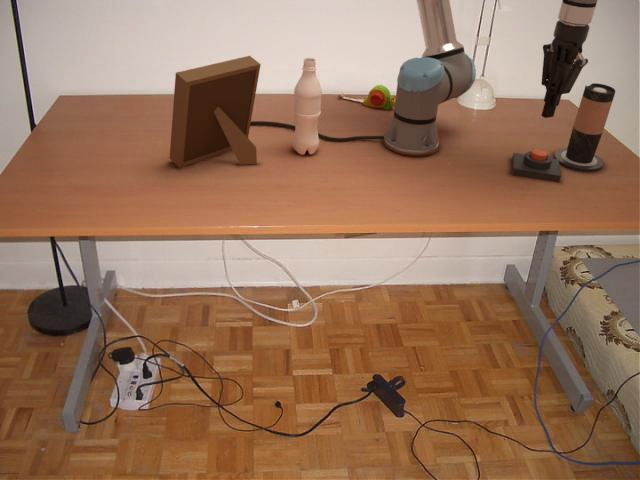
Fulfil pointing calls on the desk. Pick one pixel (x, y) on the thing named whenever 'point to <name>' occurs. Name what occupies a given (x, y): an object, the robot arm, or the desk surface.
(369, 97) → the toy measuring tape
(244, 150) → the photo frame
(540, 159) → the button
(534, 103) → the desk surface
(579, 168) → the plate
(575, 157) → the travel mug
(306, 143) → the water bottle
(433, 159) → the desk surface
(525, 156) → the switch
